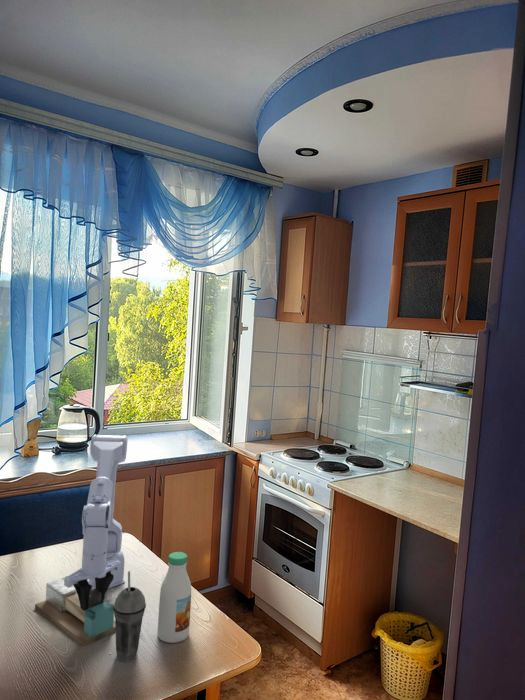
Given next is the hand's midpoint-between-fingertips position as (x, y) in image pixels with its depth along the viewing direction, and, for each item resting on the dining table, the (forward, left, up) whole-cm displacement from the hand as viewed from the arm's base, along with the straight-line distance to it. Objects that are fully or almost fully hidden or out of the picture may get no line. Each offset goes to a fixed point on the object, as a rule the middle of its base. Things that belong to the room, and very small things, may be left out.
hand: (91, 606), depth 128 cm
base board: (0, -7, -6) cm, 9 cm away
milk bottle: (-13, +16, -6) cm, 21 cm away
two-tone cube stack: (0, -3, -4) cm, 5 cm away
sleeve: (0, -13, -5) cm, 14 cm away
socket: (0, +3, -5) cm, 6 cm away
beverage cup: (0, +15, -6) cm, 16 cm away
